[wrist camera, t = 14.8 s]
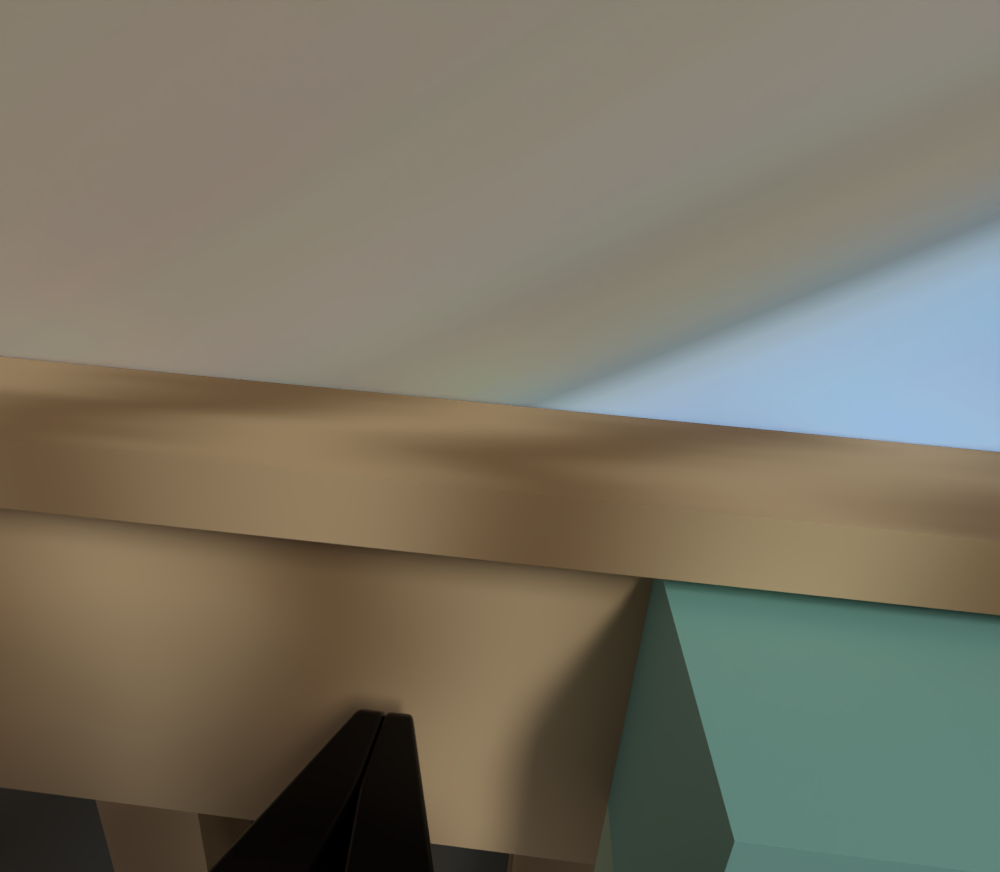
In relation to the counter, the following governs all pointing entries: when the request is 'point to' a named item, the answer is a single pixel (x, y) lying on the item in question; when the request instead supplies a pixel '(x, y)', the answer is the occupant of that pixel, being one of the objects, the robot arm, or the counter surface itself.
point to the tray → (393, 596)
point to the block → (808, 736)
